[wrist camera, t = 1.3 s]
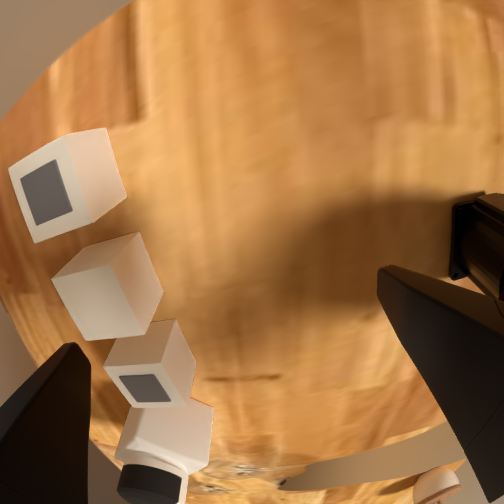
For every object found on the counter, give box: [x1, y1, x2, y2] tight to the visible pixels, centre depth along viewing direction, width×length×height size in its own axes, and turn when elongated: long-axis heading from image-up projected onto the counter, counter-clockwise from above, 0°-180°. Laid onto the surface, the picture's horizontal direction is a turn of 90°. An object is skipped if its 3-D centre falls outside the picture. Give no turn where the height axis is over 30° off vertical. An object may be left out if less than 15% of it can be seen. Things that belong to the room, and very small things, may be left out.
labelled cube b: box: [8, 128, 127, 244], centre depth 16 cm, size 5×5×5 cm
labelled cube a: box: [103, 319, 197, 408], centre depth 22 cm, size 5×5×5 cm
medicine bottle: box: [115, 398, 214, 504], centre depth 23 cm, size 7×7×12 cm
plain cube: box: [51, 231, 164, 341], centre depth 19 cm, size 5×5×5 cm
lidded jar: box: [413, 466, 462, 504], centre depth 38 cm, size 11×11×9 cm
